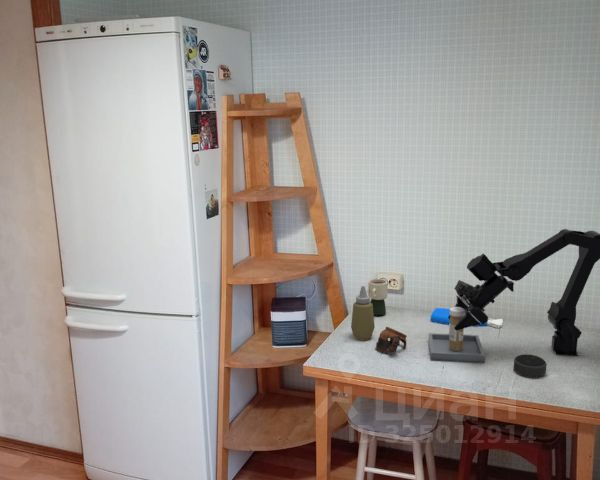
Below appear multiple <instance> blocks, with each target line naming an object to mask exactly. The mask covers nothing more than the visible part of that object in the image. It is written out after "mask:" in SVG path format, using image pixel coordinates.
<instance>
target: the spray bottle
mask: <svg viewBox="0 0 600 480" xmlns="http://www.w3.org/2000/svg"><path fill="white" fill-rule="evenodd" d="M449 315H450V308H442V307H436V308H434V309H433V311H432V313H431V315H430V322H433V323H437V324H442V323H443V324H444V325H449V324H450V319H449V318H448V316H449ZM464 316H465V315H464ZM503 323H504V322H503V318H498V319H493V318H491V317H490V318H489V317H488V322H486V323H485V324H484V325H482V324H481V323H480V324H481V325H475V326H474V327H488V326H489V327H493V328H497V329H500V328H502V327H503Z"/></svg>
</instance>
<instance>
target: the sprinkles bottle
mask: <svg viewBox="0 0 600 480" xmlns="http://www.w3.org/2000/svg"><path fill="white" fill-rule="evenodd" d="M449 309H450V325H449V329H448V330H449V333H448V334H449V349H451V350H453V351H461V350H463V335H464V329H465V328H464V329H460V330H457V331H456V330H455V329H454V327H455V326H456V325H457V324H458V322H459V321H460V320H461V319H462V318H463V317H464V315H465V310H464V309H463V308H461V307H455V306H453V307H449Z"/></svg>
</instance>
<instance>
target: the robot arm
mask: <svg viewBox="0 0 600 480" xmlns="http://www.w3.org/2000/svg"><path fill="white" fill-rule="evenodd" d="M569 245H572V246H576V247H578V259H577V261H576V262H575V265H574V268H573V269H572V272H571V275H570V277H569V279H568V281H567V284H566V287H565V289H564V291H563V293H562V295H561V298H560V299H559V300H558V301H557V302H555V301H551V303H550V307H549V309H548V310H547V312H546V314H548V315H547V320H548V322H549V323H550V324H551V325H552V327H553V329H555V330H554V331H553V333H554V335H552V336H551V345H550V346H551V350H552V351H554V354H556V355H557V356H573V357H575V356H576V357H577V356H579V353H578V352H577V351H578V350H577V349H578V340H579V339H580V337H581V335H582V331H581V330H580V329H579V328H578V327H577V326H576V325H575V323H576V318H577V305H578V302H579V301H580V298H581V296H582V293H583V291H584V289H585V287H586V285H587V282H588V280H589V277H590V275H591V273H592V270H593V268H594V267H595V266H594V265H595V264H596V263H598V261H600V233H599V232H597V231H595V230H588V231H580V230H571V229H568V228H564V229H563V228H562V229H560V230H559V232H557V233H556V234H554V235H553V236H551V237H549V238H547V239H546V240H545V241H543V242H541V243H539V244H538V245H537V246H534V247H533V248H531V249H529V250H528V251H525V252H523V253H519V254H516V255H513V256H510V257H508V258H505V259H504V260H503V261H497V262H492V261H491V260H490V259H489V258H488V256H487V255H486V254H485V253H481V255H478V256H476V257H474V258H472V259H470V261H469V262H468V263H467V265H466V269H467V270H468V271H469V272H470V273H471V274H472V275H473V276H474V277H475V278H476V279H478V281H479V282H483V283H481V284H479V283H478V284H476V285H475V286H473V285H471V284H470V283H467V282H464V281H462V280H460V279H459V280H458V281H457V283H456V284H455V287H454V290H455V292H456V294H457V295H456V302H455V305H454V307H461V308H463V309H464V310H465V316H464V317H463V318H462V319H461V320H460V321H459V322H458V324H457V325H456V326H455V327H454V329H455V330H456V331H457V330H460V329H467V328H471V327H476V326H475V325H481V324H482V325H484V324H485V323H486V322H488V318H489V316H488V315H487V313H486V312H485V311H486V309H485V308H486V307H487V306H488V305H489V304H490V303H491V304H494V303H495V302H496V301H495V299H496V297H498V296H499V295H501V294H502V293H503V292H504V291H505V290H506V289H508V290H509V291H511V292H513V293H514V290H515V289H514V285H515V283H514V281H515V282H517V281H521V280H522V279H524V277H526V276H527V275H528V274H529V273H530V272H531V271H532V269H533V268H534V267H535V266H536V265H538V264H539V263H541V262H542V261H544V260H546V259H547V258H549V257H552V255H555V254H556V253H557V252H559V251H561V250H562V249H564V248H566V247H567V246H569ZM496 272H497V273H498V274H499V275H498V274H497V273H496ZM507 278H508V279H509V280H508V279H507ZM448 318H449V319H450V315H449V316H448ZM480 323H481V324H480Z"/></svg>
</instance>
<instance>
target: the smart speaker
mask: <svg viewBox="0 0 600 480" xmlns="http://www.w3.org/2000/svg"><path fill="white" fill-rule="evenodd" d="M547 365H548V364H547V362H546V360H544V358H542V357H541V356H538V355H534V354H526V353H525V354H519V355H517V356H516V357H515V358H514V359H513V369H514V372H516V373H517V374H519V375H520V376H522V377H525V378H541V377H543V376H545V374H546V373H547Z"/></svg>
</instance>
